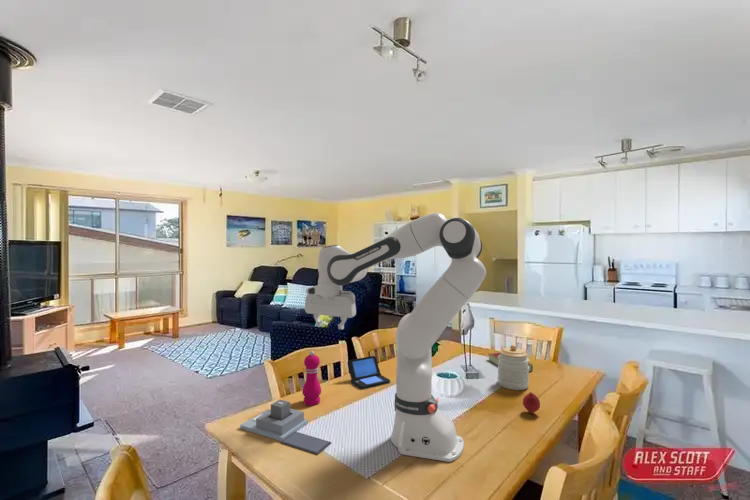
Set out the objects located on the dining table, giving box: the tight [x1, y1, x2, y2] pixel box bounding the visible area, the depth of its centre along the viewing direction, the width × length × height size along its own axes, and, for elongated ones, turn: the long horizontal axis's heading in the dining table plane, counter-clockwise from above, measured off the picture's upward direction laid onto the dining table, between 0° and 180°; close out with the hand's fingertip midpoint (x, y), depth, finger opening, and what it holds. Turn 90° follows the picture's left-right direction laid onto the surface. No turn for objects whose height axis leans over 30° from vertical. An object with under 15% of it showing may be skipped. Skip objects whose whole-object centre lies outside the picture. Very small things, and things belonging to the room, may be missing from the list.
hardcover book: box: [487, 352, 534, 372], centre depth 189 cm, size 12×21×4 cm, turn 13°
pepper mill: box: [301, 350, 322, 406], centre depth 143 cm, size 7×7×20 cm
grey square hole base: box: [239, 408, 309, 442], centre depth 125 cm, size 18×13×4 cm
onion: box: [522, 390, 541, 414], centre depth 135 cm, size 6×6×8 cm
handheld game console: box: [347, 355, 391, 390], centre depth 166 cm, size 16×13×9 cm
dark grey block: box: [270, 399, 291, 421], centre depth 123 cm, size 4×4×7 cm
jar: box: [497, 344, 530, 391], centre depth 162 cm, size 13×13×18 cm
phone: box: [280, 431, 332, 456], centre depth 114 cm, size 14×7×1 cm, turn 63°
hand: (330, 327), depth 135 cm, fingers open, 8 cm apart
